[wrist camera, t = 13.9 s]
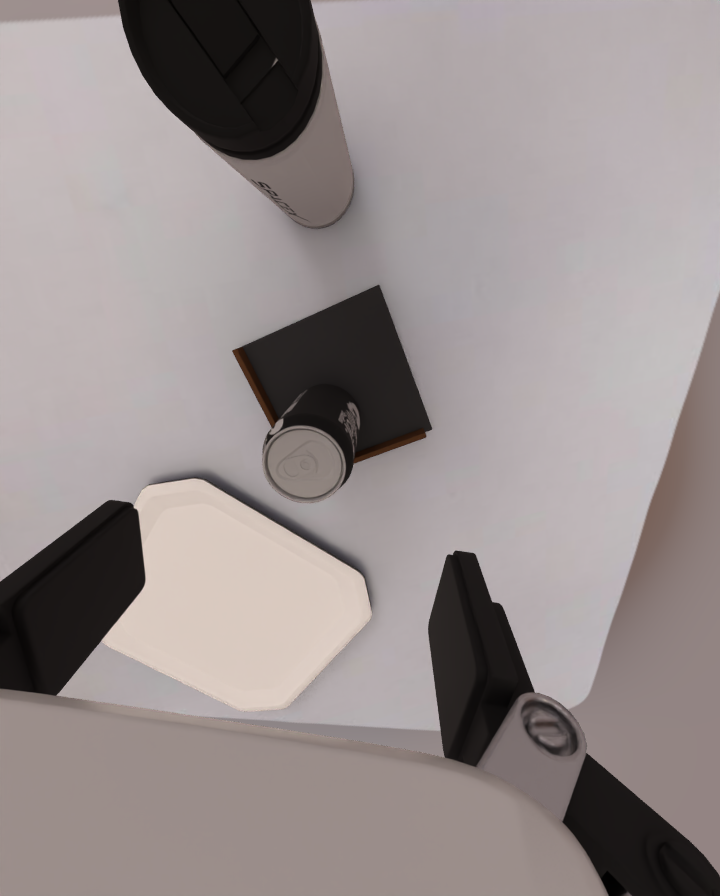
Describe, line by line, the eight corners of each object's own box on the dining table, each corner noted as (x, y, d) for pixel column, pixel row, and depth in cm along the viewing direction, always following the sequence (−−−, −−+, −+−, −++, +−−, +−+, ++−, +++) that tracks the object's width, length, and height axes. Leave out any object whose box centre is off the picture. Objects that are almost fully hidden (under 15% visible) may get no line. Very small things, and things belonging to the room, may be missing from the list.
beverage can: (370, 435, 37) (365, 493, 26) (309, 455, 39) (279, 519, 27) (347, 372, 35) (330, 406, 24) (283, 395, 36) (239, 438, 25)
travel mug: (317, 110, 29) (194, -238, 10) (370, 191, 30) (349, 23, 12) (257, 172, 30) (57, -26, 12) (311, 246, 32) (210, 174, 13)
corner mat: (239, 348, 35) (231, 350, 34) (379, 284, 33) (378, 284, 31) (304, 474, 40) (300, 483, 38) (431, 428, 37) (434, 434, 35)
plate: (394, 581, 44) (395, 595, 42) (273, 711, 54) (269, 727, 52) (170, 447, 40) (158, 455, 37) (81, 615, 49) (68, 629, 47)
